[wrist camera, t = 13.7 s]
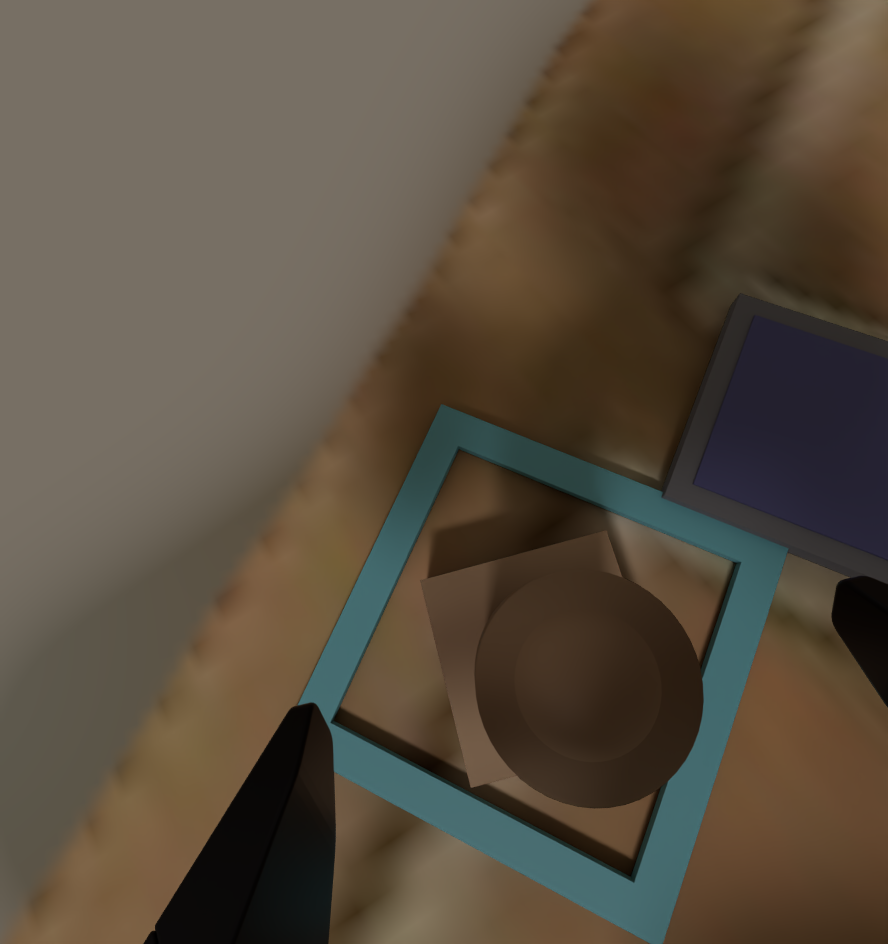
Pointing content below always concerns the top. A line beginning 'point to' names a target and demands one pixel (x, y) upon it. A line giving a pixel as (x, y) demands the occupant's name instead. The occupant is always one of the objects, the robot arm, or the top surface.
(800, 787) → the top surface
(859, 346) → the ink pad
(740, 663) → the frame
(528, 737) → the stamp
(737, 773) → the top surface
